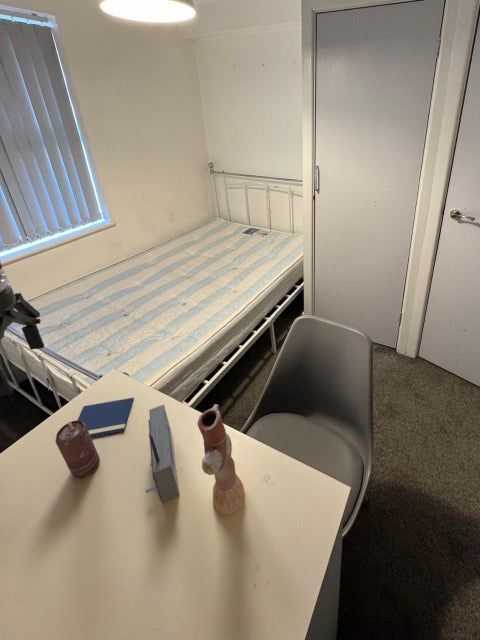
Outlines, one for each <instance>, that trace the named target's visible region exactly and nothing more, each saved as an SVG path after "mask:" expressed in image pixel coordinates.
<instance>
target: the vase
mask: <svg viewBox="0 0 480 640" xmlns="http://www.w3.org/2000/svg"><path fill="white" fill-rule="evenodd" d="M219 409H220V406H219V404H216V403H215V404H214V405H213V406H212V407H211V408H208V409H207V410H205V411H203V412H202V413H201V414H200V415H199V416H198V418H197V427H198V429H199V431H200V433H201V436H202V439H203V447H204V456H203V458H202V460H201V468H202V471H203V473H204V474H206V475H208V476H213V475H214V480H215V482H214V484H213V488H212V507H213V509H214V510H215V511H216V512H217V513H218V514H221V515H225V516H229V515H231V514H233V513H236V512H237V511H238V510H239V509H240V508H241V507H242V505H243V503H244V502H243V501H244V497H245V487H244V484H243V482H242V480H241V479H240V478H239V476H238V475H237V473H236V464H235V460H234V459H233V457H232V451H233V444H232V439H231V436H230V435H229V434H228V433H227V432H226V428H225V424H224V422H223V418H222V414H221V412H220V411H219Z"/></svg>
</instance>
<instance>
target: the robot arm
mask: <svg viewBox="0 0 480 640" xmlns="http://www.w3.org/2000/svg"><path fill="white" fill-rule="evenodd" d="M9 283H10V280H9V279H8V276H7V275H6V272H5V270H4V267H3V265H2V262H1V261H0V343H1V342H2V341H1V340H2V339H3V338H4V337H5V331H7V329H8V327H10V326H11V325H12V324H13V323H14V324H18V325H22V327H21V331H22V333H23V336H24V338H25V340H26V343H27V345H28V347H29V349H30V350H39V349H44V348H45V344H44V340H43V338H42V336H41V334H40V330H39V328H38V325H40V324H41V322H42V321H41V318H39V317H41V312H39V311H38V310H37V309H36V308H35V307H34V306H33V305H32V304H30V303H29V302H28V301H27V300H26V299H25V298H24V297H23V295H22V293H21V292H14V290H13V287H12V285H10V284H9ZM6 377H7V376H6V375H5V373H4V371H3V369H2V368H0V397H2V396H8V395H9V396H10V395H11V394H12V393H13V389H12V388H11V385H10V383H9V381H8V379H7V378H6Z"/></svg>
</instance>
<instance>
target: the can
mask: <svg viewBox="0 0 480 640" xmlns="http://www.w3.org/2000/svg"><path fill="white" fill-rule="evenodd" d="M77 420H78V419H77ZM77 420H71V421H68V422H67V423H65V424H64V425H63V426H62V427H60V428H59V430H58V431H57V433H56V435H55V445H56V446H57V448H58V450H59V452H60V454H61V456H62V458H63V460H64V463H65V464H66V466H67V468H68V470H69V472H70V474H71V476H72V478H74V479H78V480H81V479H85V478H87V477H89V476H90V475H92V474H93V473H94V472H95V471H96V469H97V468H98V466H99V464H100V455H99V453H98V451H97V448H96V446H95V444H94V441H93V438H91V436H90V434H89V432H88V429H87V427H86V425H85V423H83V422H81V421H77Z"/></svg>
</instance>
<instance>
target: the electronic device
mask: <svg viewBox="0 0 480 640" xmlns="http://www.w3.org/2000/svg"><path fill="white" fill-rule="evenodd" d="M148 413H149V415H148V416H149V419H148V438H149V450H150V452H149V453H150V465H149V466H150V469H151V475H152V476H151V478H152V481H153V482H154V483H153V484H152V485H151V486H149V487H147V488H145V493H146V494H148V493H150V492H153V491H157V494H158V497H159V500H160V502H161V503H165V502H167V501H169V500H172V499H173V498H176V497H178V496H180V488H179V481H178V473H177V465H176V464H177V463H176V457H175V451H174V450H175V448H174V443H173V435H172V434H173V433H172V428H171V425H170V421H169V417H168V414H167V410H166V406H165V404H161V405H158V406H155V407H153V408H151V409H149V410H148Z"/></svg>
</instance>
